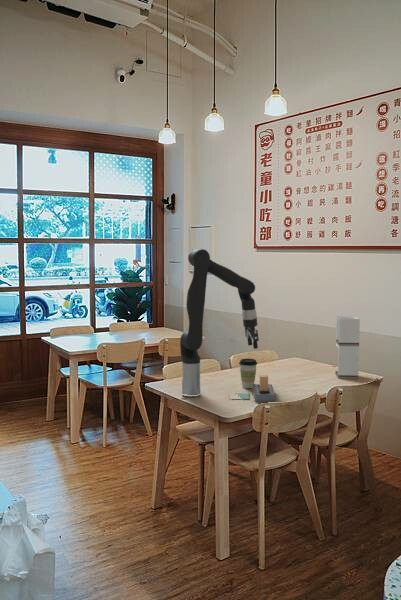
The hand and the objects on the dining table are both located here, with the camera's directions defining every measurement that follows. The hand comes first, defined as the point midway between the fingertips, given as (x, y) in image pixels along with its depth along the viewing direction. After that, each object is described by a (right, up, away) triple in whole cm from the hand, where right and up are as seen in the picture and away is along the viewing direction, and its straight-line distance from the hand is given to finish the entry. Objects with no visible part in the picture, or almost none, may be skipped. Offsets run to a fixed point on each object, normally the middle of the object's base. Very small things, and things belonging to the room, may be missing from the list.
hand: (252, 346), depth 288 cm
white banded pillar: (+57, -20, +25) cm, 66 cm away
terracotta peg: (+4, -24, -16) cm, 29 cm away
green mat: (-9, -24, -16) cm, 30 cm away
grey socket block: (+4, -24, -16) cm, 29 cm away
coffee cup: (-2, -22, +3) cm, 23 cm away
